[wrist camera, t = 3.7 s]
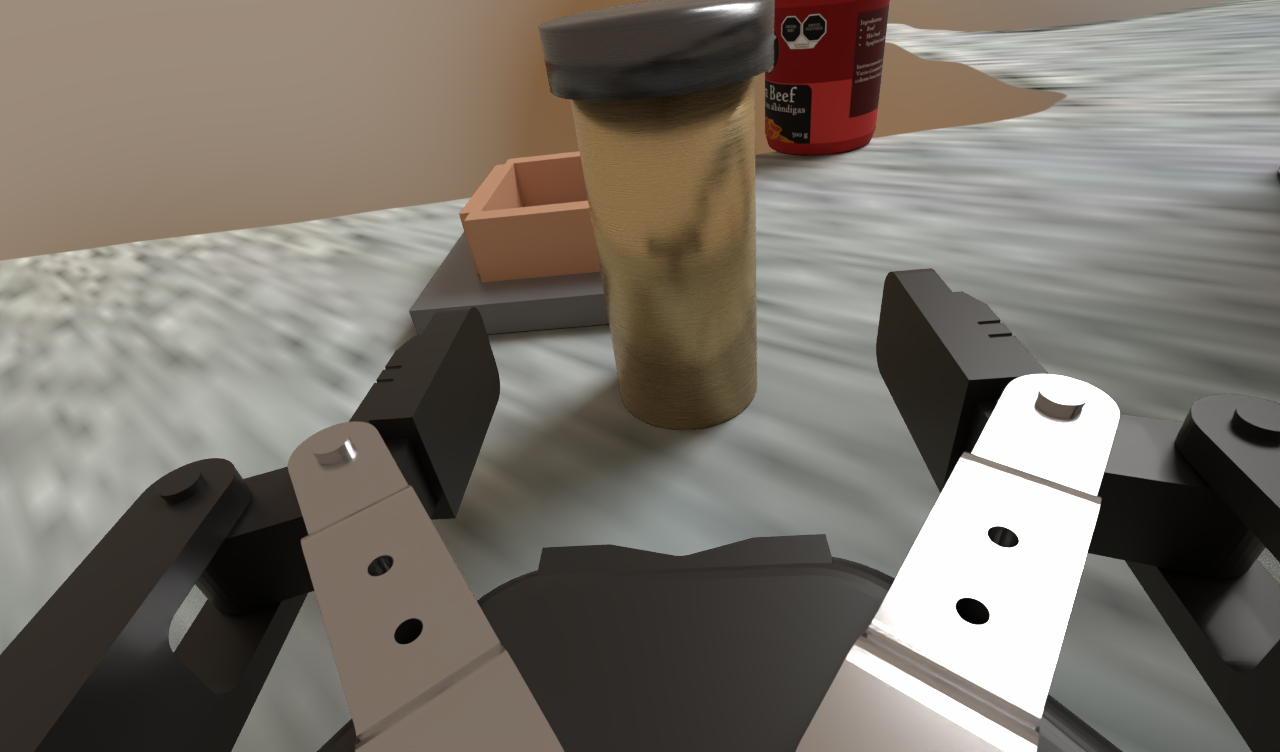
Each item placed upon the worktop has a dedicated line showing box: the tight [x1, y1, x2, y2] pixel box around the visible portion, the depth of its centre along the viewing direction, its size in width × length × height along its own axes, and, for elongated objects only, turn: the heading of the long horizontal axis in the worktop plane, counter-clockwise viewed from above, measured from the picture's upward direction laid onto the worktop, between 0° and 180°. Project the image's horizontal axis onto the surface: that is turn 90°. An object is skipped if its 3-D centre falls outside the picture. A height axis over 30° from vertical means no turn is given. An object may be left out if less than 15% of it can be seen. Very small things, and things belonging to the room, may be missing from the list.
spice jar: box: [538, 0, 775, 430], centre depth 19 cm, size 6×6×12 cm
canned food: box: [765, 0, 890, 155], centre depth 43 cm, size 8×8×11 cm
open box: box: [409, 151, 609, 336], centre depth 31 cm, size 14×14×4 cm
